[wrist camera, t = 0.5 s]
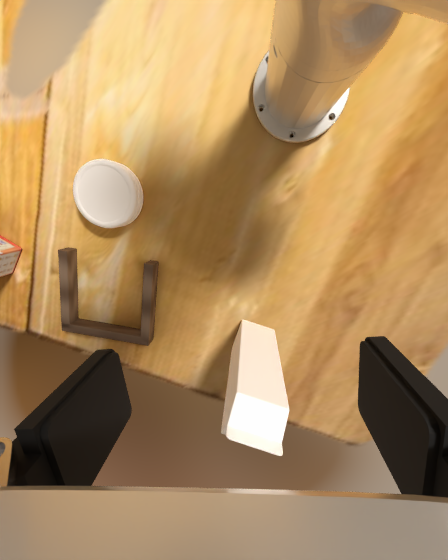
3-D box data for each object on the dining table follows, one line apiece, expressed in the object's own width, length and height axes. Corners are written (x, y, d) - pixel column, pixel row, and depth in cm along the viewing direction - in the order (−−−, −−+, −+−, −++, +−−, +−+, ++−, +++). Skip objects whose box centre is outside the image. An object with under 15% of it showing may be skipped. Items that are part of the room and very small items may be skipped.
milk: (263, 357, 48) (273, 478, 27) (231, 346, 48) (216, 460, 27) (274, 328, 46) (295, 435, 25) (241, 317, 46) (234, 415, 25)
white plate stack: (149, 171, 41) (141, 168, 38) (138, 233, 44) (129, 236, 41) (88, 154, 41) (74, 149, 38) (81, 217, 44) (67, 218, 41)
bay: (68, 247, 46) (58, 249, 43) (158, 261, 45) (153, 265, 42) (70, 324, 50) (61, 330, 48) (153, 338, 49) (148, 345, 47)
